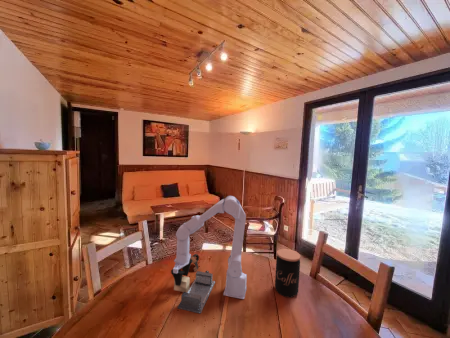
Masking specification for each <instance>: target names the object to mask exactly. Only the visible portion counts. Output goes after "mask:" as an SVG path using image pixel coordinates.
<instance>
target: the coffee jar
mask: <svg viewBox="0 0 450 338" xmlns="http://www.w3.org/2000/svg"><path fill="white" fill-rule="evenodd" d="M300 268H301V254H300V253H299V252H297V251H296V250H294V249H289V248H280V249H278V250H277V251H276V261H275V276H274V277H275V279H274V288H275V290H276V292H277V293H278V295H281V296H282V297H286V298H294V297H296V296H297V295H298V293H299V285H300V272H301V270H300Z"/></svg>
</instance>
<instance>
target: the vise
mask: <svg viewBox="0 0 450 338" xmlns="http://www.w3.org/2000/svg"><path fill="white" fill-rule="evenodd" d="M215 284H216V281H215V280H212V284H211V285H207V284H202V283H197V282H196V278H195V279H194V281H193V282H192V283H191V285H190V286H189V289H188V290H187V292H182V294H181V297H180V298H181V299H180V302H179V303H178V305H177V309H179V310H184V311H187V312H191V313H197V314H200V315H201V313H202V312H203V309H204V308H205V305H206V303H207V301H208V300H209V296H210V295H211V292H212V290H213V289H214V286H215Z"/></svg>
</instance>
